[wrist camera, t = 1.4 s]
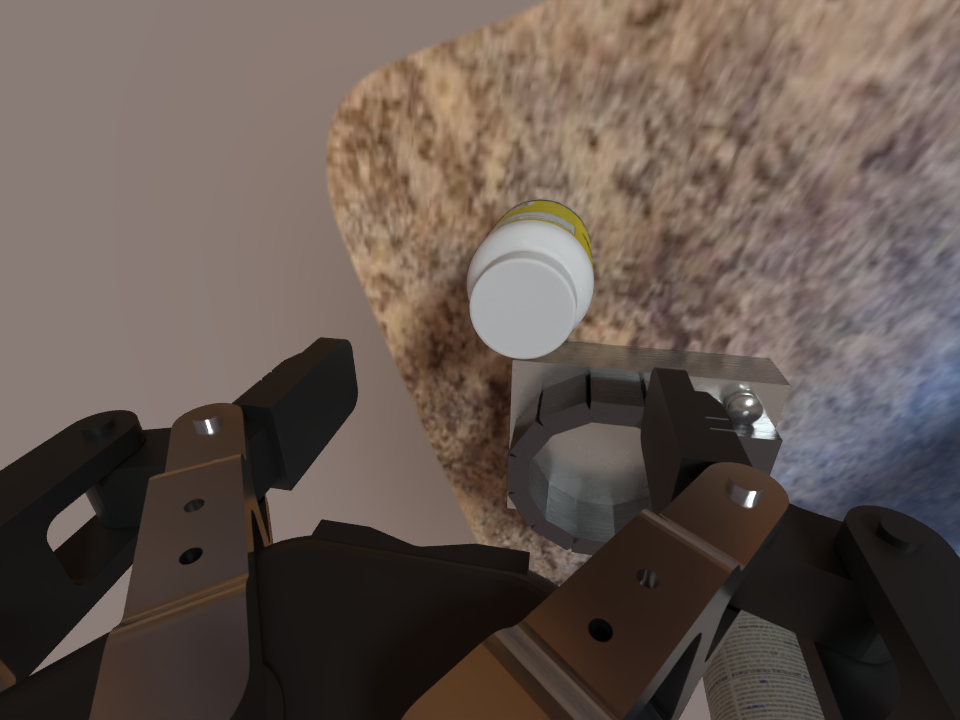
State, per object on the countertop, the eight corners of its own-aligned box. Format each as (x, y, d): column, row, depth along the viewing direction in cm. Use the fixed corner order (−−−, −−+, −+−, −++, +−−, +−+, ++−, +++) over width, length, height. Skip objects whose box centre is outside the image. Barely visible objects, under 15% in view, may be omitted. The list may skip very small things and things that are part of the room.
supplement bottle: (573, 306, 27) (567, 393, 18) (483, 280, 27) (436, 354, 19) (606, 211, 24) (617, 262, 16) (506, 184, 25) (463, 220, 16)
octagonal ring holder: (770, 358, 26) (816, 419, 21) (722, 505, 31) (750, 584, 26) (519, 337, 28) (504, 387, 23) (513, 477, 34) (499, 544, 28)
